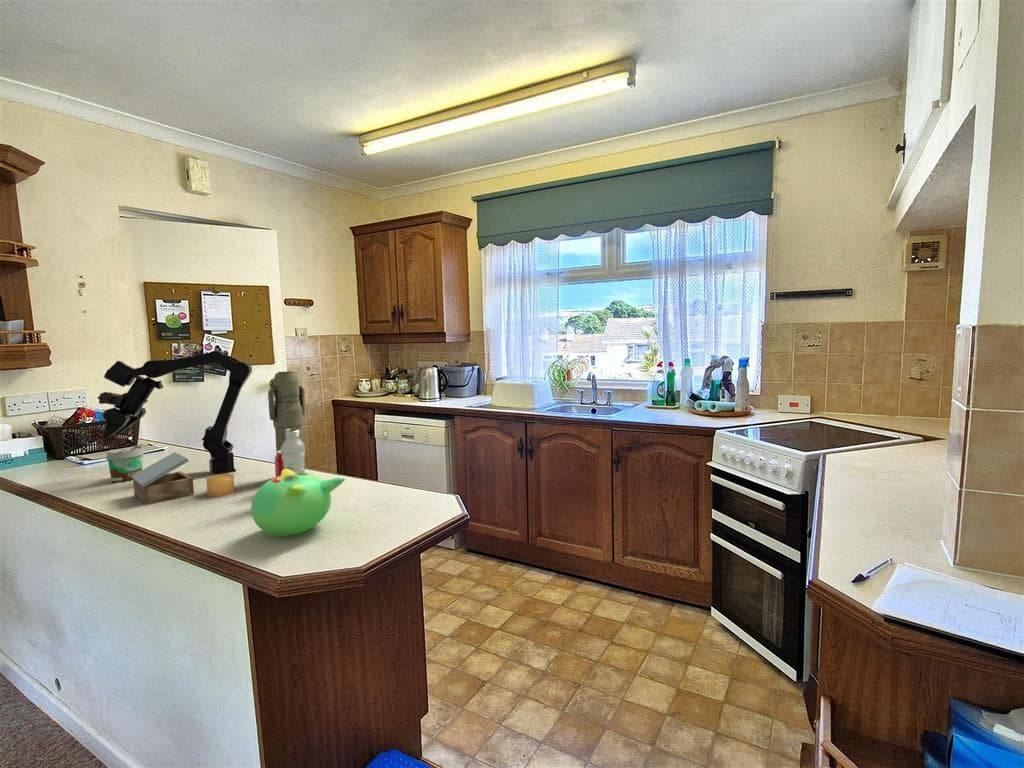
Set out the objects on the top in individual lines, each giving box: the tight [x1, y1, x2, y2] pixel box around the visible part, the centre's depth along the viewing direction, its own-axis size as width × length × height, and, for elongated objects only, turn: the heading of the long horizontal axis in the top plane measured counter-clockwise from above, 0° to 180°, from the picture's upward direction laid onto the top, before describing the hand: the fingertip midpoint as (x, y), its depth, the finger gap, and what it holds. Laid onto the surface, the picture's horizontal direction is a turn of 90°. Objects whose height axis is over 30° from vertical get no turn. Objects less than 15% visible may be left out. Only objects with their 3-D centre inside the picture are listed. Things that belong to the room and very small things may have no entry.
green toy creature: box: [250, 469, 346, 537], centre depth 119 cm, size 18×17×15 cm
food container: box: [105, 445, 146, 484], centre depth 165 cm, size 12×6×10 cm, turn 179°
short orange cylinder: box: [205, 473, 235, 498], centre depth 150 cm, size 7×7×5 cm
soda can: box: [274, 450, 284, 477], centre depth 152 cm, size 7×7×12 cm
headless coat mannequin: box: [267, 371, 306, 473], centre depth 164 cm, size 9×12×35 cm
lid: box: [131, 451, 190, 487], centre depth 147 cm, size 12×12×1 cm
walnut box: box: [132, 470, 195, 506], centre depth 147 cm, size 12×12×5 cm
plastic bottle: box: [281, 429, 306, 473], centre depth 142 cm, size 6×7×20 cm
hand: (110, 435), depth 162 cm, fingers open, 9 cm apart
